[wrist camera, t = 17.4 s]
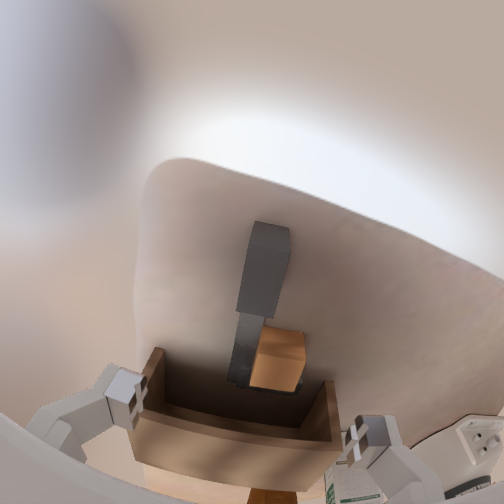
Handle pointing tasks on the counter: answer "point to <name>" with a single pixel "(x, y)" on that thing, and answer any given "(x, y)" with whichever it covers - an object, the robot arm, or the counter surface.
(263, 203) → the counter surface
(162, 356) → the walnut cubby
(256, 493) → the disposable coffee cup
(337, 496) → the syrup box
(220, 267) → the counter surface
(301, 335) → the orange block
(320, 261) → the counter surface
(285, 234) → the metal crook
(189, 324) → the counter surface
